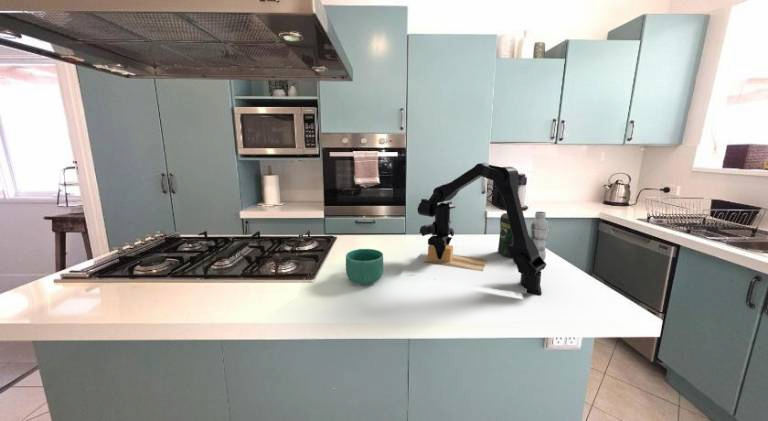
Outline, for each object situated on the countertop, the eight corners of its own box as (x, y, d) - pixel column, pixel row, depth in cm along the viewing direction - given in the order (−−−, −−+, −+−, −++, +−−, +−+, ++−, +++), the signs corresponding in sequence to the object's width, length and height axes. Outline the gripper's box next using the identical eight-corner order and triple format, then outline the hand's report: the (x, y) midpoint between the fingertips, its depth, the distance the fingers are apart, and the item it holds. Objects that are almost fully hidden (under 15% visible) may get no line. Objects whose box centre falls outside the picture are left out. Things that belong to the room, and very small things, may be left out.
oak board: (482, 275, 108) (482, 271, 108) (423, 266, 117) (423, 262, 117) (486, 262, 121) (486, 258, 121) (432, 255, 130) (432, 251, 129)
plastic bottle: (523, 259, 124) (527, 211, 121) (534, 257, 127) (539, 210, 123) (537, 264, 118) (541, 214, 115) (548, 262, 121) (554, 213, 118)
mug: (385, 288, 98) (385, 259, 96) (346, 290, 96) (345, 261, 95) (379, 269, 114) (379, 244, 112) (345, 270, 112) (345, 246, 111)
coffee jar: (524, 261, 122) (528, 216, 119) (506, 262, 121) (509, 216, 118) (511, 253, 132) (515, 211, 129) (494, 254, 131) (497, 212, 128)
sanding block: (450, 261, 117) (450, 249, 116) (427, 258, 121) (427, 246, 120) (452, 257, 122) (453, 245, 121) (430, 254, 125) (431, 242, 124)
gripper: (428, 213, 130) (427, 248, 133) (414, 221, 113) (414, 261, 116) (454, 215, 125) (453, 251, 128) (444, 224, 108) (443, 265, 111)
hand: (440, 257), depth 121 cm, fingers closed on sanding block, 5 cm apart
